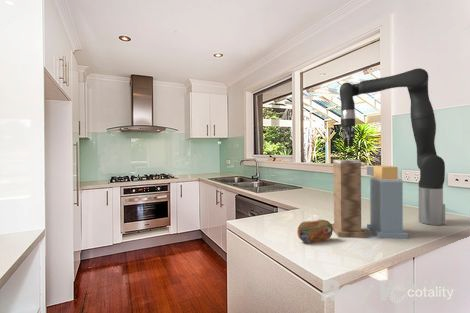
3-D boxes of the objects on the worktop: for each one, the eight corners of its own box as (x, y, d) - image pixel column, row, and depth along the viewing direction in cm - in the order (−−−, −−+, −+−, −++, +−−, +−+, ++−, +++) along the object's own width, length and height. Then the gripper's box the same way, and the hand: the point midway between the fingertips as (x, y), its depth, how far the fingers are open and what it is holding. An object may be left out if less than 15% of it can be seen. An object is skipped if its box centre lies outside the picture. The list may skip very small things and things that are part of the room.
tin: (300, 244, 94) (300, 223, 93) (296, 241, 97) (296, 221, 96) (333, 240, 98) (333, 219, 97) (328, 237, 101) (328, 217, 100)
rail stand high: (355, 228, 111) (354, 159, 110) (366, 237, 99) (365, 160, 98) (330, 227, 112) (330, 159, 112) (338, 237, 101) (337, 161, 100)
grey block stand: (392, 229, 109) (392, 176, 108) (408, 238, 97) (407, 179, 96) (366, 228, 110) (366, 176, 110) (379, 238, 98) (378, 179, 98)
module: (377, 174, 117) (377, 164, 117) (397, 179, 99) (397, 167, 99) (364, 174, 118) (364, 164, 118) (382, 179, 100) (382, 167, 100)
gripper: (359, 116, 130) (359, 146, 130) (350, 119, 144) (350, 146, 145) (345, 117, 131) (345, 146, 131) (337, 120, 145) (337, 147, 146)
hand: (348, 146), depth 138 cm, fingers open, 8 cm apart
